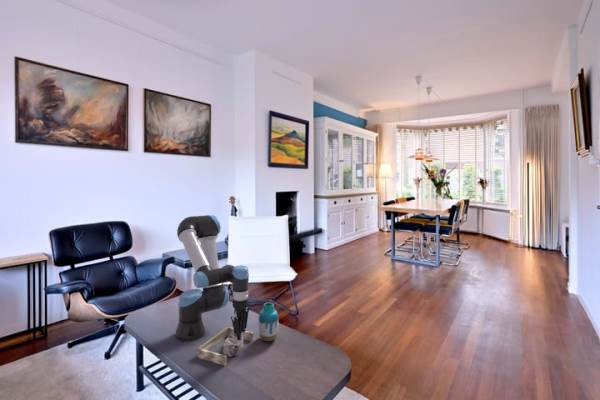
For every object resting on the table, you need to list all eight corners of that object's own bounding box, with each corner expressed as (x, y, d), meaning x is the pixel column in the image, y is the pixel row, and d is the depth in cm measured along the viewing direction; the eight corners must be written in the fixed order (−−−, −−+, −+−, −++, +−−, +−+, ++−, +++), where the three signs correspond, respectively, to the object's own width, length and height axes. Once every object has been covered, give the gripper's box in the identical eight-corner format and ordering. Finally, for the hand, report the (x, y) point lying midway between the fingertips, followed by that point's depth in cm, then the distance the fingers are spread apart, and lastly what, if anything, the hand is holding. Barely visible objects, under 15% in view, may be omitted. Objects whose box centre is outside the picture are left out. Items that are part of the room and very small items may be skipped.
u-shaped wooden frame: (196, 357, 142) (196, 348, 142) (227, 333, 165) (227, 326, 165) (225, 365, 136) (225, 357, 136) (253, 339, 159) (253, 332, 158)
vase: (275, 345, 153) (275, 309, 152) (255, 343, 155) (255, 307, 154) (280, 335, 164) (281, 301, 162) (262, 333, 166) (262, 299, 164)
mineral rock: (234, 359, 141) (234, 350, 141) (218, 357, 142) (218, 348, 142) (243, 342, 156) (243, 334, 156) (228, 341, 157) (228, 333, 157)
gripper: (239, 304, 138) (239, 353, 140) (254, 294, 150) (253, 340, 152) (225, 301, 141) (225, 350, 143) (241, 292, 153) (241, 337, 155)
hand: (240, 345), depth 147 cm, fingers closed
